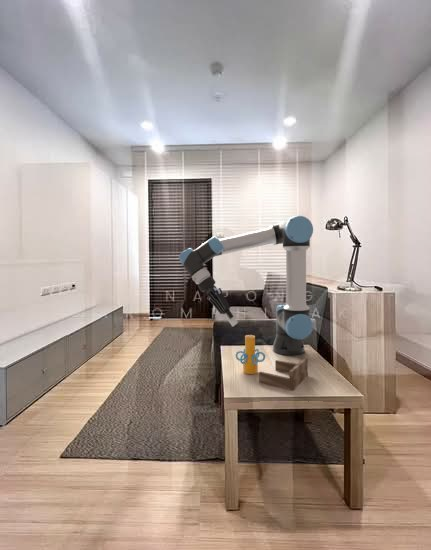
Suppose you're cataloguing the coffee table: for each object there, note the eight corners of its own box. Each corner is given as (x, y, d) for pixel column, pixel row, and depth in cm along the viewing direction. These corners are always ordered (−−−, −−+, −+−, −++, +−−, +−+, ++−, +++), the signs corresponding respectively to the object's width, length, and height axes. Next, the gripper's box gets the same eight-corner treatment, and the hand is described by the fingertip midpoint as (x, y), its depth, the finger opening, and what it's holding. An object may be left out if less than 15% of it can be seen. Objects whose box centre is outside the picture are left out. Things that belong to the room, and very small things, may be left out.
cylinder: (265, 368, 135) (265, 333, 134) (264, 377, 125) (264, 340, 123) (237, 366, 137) (237, 332, 136) (234, 375, 127) (233, 339, 126)
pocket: (276, 369, 133) (276, 352, 133) (307, 375, 126) (307, 358, 125) (259, 382, 120) (258, 364, 119) (292, 390, 112) (292, 371, 112)
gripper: (193, 288, 143) (223, 332, 141) (201, 279, 132) (234, 326, 129) (206, 280, 146) (236, 322, 144) (215, 271, 135) (247, 316, 133)
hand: (235, 324), depth 137 cm, fingers closed
